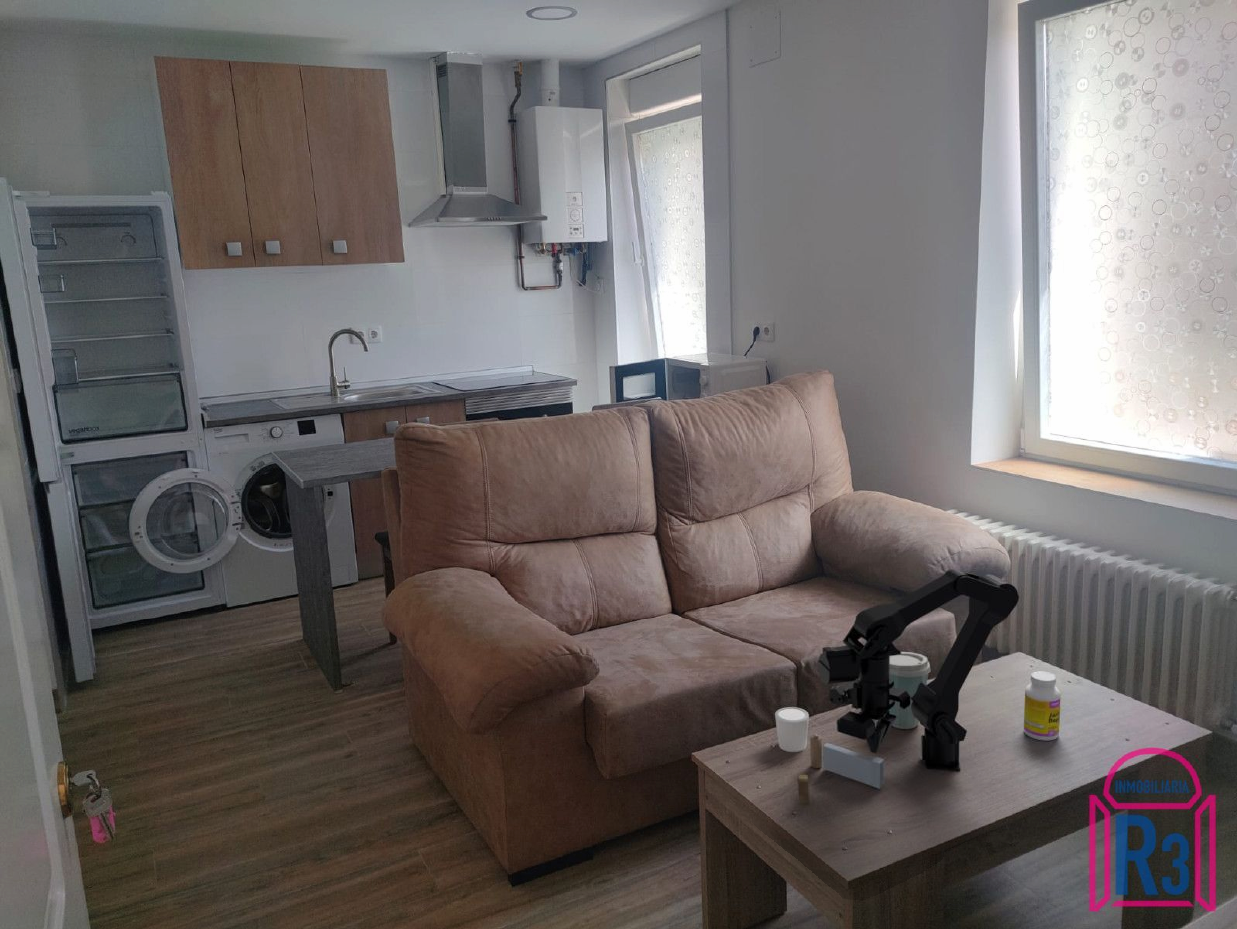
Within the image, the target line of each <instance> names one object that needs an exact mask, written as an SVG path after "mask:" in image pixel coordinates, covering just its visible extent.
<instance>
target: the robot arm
mask: <svg viewBox="0 0 1237 929" xmlns="http://www.w3.org/2000/svg"><path fill="white" fill-rule="evenodd" d="M961 596H965V597H968V615H967V617H966V619H965V622H964V623H963V625H962V626H961V629H960V631H959V632H958V635H957V637H956V638H955V640H954V643H953V644H952V646H951V648H950V650H949V651H948V654H947V656H946V657H945V659H944V662H943V663H942V664H941V667H940V669H939V671H938V672H937V675H936V677H934V679H933V680H932V681H930V682H928V683H927V684H924V683H923V682H921V683H920V684H919V685H918V688H917V691H916V693H915V694H914V696H913V697H911V700H912V701H913V702H912V704H911V709H912V713H913V715H914V716H915V718H917V719H918V720H919V724H920V725H921V726H923V727H924V728H923V729H924V730H923V732H924V734H922V735H921V736H920V739H921V740H920V754H921V756H920V757H921V760H922V761H923V762H924V767H925V768H926V769H931V770H932V769H935V770H936V769H937V770H952V771H960V770H961V768H962V767H961V763H960V742H964V740H965V739H966V735H967V734H968V733H967V732H968V731H967V729H965V728H964V727H963V726H962V725H961V724H959V722H957V721H956V719H957V716H958V713H959V710H960V709H959V706H960V705H959V704H960V702H959V700H960V698H959V697H960V691H961V690H962V687H963V686H964V684H965V682H966V681H967V680H966V679H967V678H968V676H969V675H970V672H971V671H972V669H973V667H974V665H975V662H976V660H977V659H978V657H979V655H980V653H981V652H982V650H983V647H984V646H985V644H986V642H987V641H988V638H989V637H990V635H991V633H992V631H993V629H994V628H995V627H997V626H998V625H1000V623H1002V622H1003V621H1006V619H1008V618H1009V616H1010V615H1011V613H1013V611H1014V609H1015V608H1016V606H1018V603H1019V600H1020V596H1019V592H1018V589H1017V588H1016V587H1015V585H1013V584H1011V583H1009V582H1007V581H1006V580H1004V579H1002V578H1000V577H997V576H996V575H993V574H991V573H990V574H989V573H988V574H984V575H981V576H980V575H977V574H974V573H971V572H964V571H960V570H958V569H957V568H956V569H955V568H953V569H951V568H950V569H948V570H947V571H945V573H944V574H943V575H942V576H939V577H938V578H935V579H934V580H932V581H931V582H928V583H927V584H925V585H923V586H921V587H920V588H918V589H916V590H914V591H912V592H911V593H909V594H907V595H905V596H903V597H902V598H900V599H898V600H896V601H894V602H892V603H886V604H885V603H884V604H878V605H875V606H872V607H869V608H867V609H864V610H862V611H860V612H859V613H858V614H857V615H856V616H855V620H854V623H853V625H852V626H851V627H850V630H849V631H848V632H847V634H846V635H845V637H844V638H843V639H842V643H843V644H844V645H842V646H834V647H833V646H826V647H822V653H820V655H819V657H818V660H817V669H818V670H817V671H818V674H819V676H820V677H819V678H820V680H821V682H822V683H823V684H824V685H833V684H837V685H835V686H834V685H833V686H832V687H830V688H829V690H828V697H827V699H828V701H829V702H830V704H832V705H833V706H835V707H840V706H843V705H851V708H853V709H856V710H859V709H860V711H859V712H858V713H857V712H854V711H848V712H846V713H845V714H844V715H842V716H841V717H840V718H837V720H836V731H837V732H838V733H840V734H844V735H847V736H849V737H853V738H856V739H859V740H866V743H867V744H868V747H869V750H870V752H871V753H873V754H878V752H879V751H880V748H881V747H882V745H883V743H884V741H885V738H886V737H887V735H888V734H889V732H890V730H891V727H893V726H892V724H893V722H894V721H895V719H896V716H895V715H892V714H890V711H889V709H891V708H892V707H893V706H894V705H895V701H897V702H900V707H901V709H905V708H907V707H908V706H909V705H910V695H909V694H908V692H907V691H906V690H902V689H899V688H895V687H893V686H894V681H892V680H890V656H892V655H899V654H901V652H902V651H901V650H900V649H899V648H898V647H896V646H895V645H894V642H895V641H896V640H897V639H898V638H900V637H901V636H902V634H903V633H904V631H905V630H906V628H907V627H909V626H910V625H911V624H912V623H914V622H916V621H918V620H919V619H921V618H923V617H925V616H927V615H928V614H930V613H932V612H933V611H936V610H937V609H940V608H941V607H942V606H944V605H946V604H949V603H950V602H952V601H953V600H955V599H957V598H958V597H961ZM860 639H862V640H863V641H864V642H866V643H865V644H863V643H862V642H861V641H859V640H860Z"/></svg>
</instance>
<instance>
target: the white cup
mask: <svg viewBox="0 0 1237 929" xmlns="http://www.w3.org/2000/svg"><path fill="white" fill-rule="evenodd" d="M774 716H775V717H774V718H775V725H776V733H777V741H778V746H779V748H780V749H781V750H783V751H785V752H789V753H798V752H803V751H804V750H805V749H806V747H807V744H808V743H807V742H808V730H809V719H810V714H809V712H808V711H807V710H805V709H804V708H800V707H794V706H791V707H789V706H788V707H782V708H779V709H778V710H776V711H775V713H774Z"/></svg>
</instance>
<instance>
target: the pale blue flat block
mask: <svg viewBox="0 0 1237 929" xmlns="http://www.w3.org/2000/svg"><path fill="white" fill-rule="evenodd" d="M822 740H823V739H822V736H820V735H819V734H817V733H814V734H813V735H811V736H810V738H809V742H810V745H809V746H810V749H809V750H810V752H809V753H810V766H811V767H812V768H814V769H820V768H821V767H822V768H823V769H824V770H827V771H828V772H829V771H830V772H833V773H834V774H835V773H836V774H837V775H841V776H844V777H847V778H849V779H851V780H855V781H858V782H861V783H863V784H865V785H866V784H867V785H869V786H871V787H872V788H873V787H874V788H876V789H881V788H882V787H883V786H884V785H885V759H884V758H881V757H878V756H875V757H874V758H873V757H871V756H868V755H865V754H861V753H859V752H856V751H852V750H849V749H846V748H844V747H840V746H838V745H835V744H831V743H829V742H826V743H825V744H823V743H822V742H823V741H822Z"/></svg>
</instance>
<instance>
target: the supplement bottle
mask: <svg viewBox="0 0 1237 929" xmlns="http://www.w3.org/2000/svg"><path fill="white" fill-rule="evenodd" d="M1030 682H1031V683H1029V684H1027V686H1026V687H1025V689H1024V710H1023V711H1024V712H1023V731H1024V733H1025V735H1027V736H1028V737H1029V738H1032V739H1034V740H1038V741H1045V742H1046V741H1048V742H1049V741H1054V740H1055V739H1057V738H1058V737H1059V736H1060V721H1061V720H1060V719H1061V718H1060V716H1061V714H1060V713H1061V698H1062V697H1061V695H1062V694H1061V691H1060V690H1059V689H1058V687H1057V686H1056V684H1057V677H1056V675H1054V674H1053V673H1052V672H1048V671H1041V670H1039V671H1034V672H1032V673H1031V674H1030Z"/></svg>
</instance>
